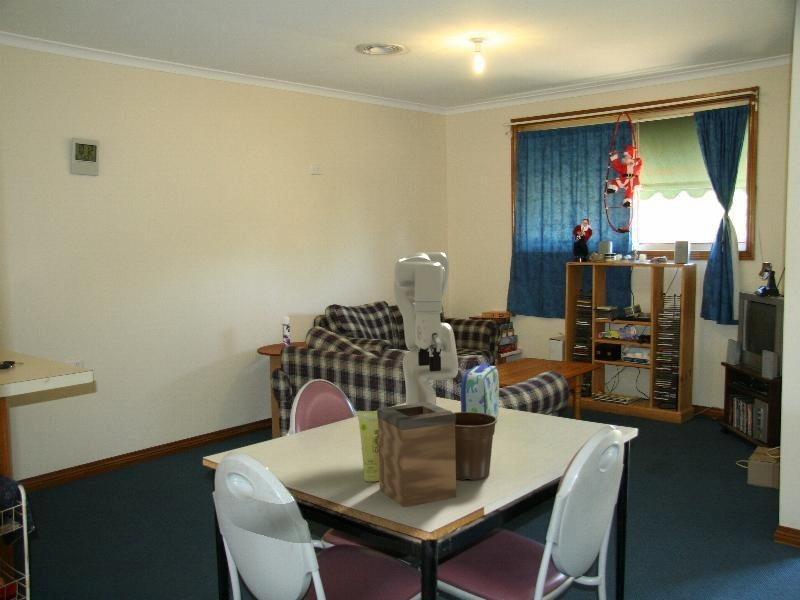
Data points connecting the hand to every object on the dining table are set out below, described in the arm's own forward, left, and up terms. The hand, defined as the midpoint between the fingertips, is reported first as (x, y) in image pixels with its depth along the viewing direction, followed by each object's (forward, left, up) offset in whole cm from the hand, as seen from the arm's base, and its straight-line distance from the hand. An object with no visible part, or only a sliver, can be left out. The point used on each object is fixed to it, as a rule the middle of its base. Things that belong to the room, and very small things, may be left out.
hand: (429, 368), depth 207 cm
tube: (-5, -16, -31) cm, 35 cm away
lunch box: (-43, +43, -31) cm, 68 cm away
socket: (+11, -10, -31) cm, 34 cm away
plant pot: (+4, +10, -31) cm, 33 cm away
